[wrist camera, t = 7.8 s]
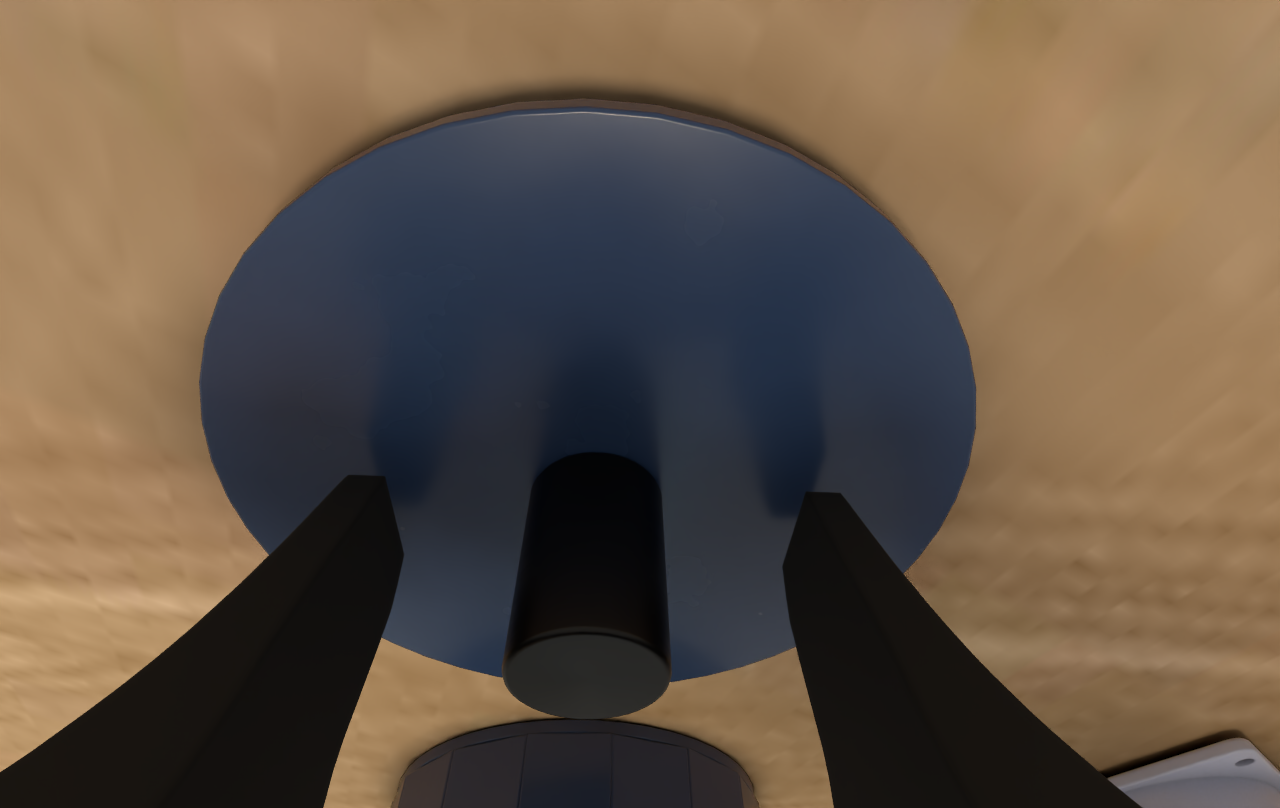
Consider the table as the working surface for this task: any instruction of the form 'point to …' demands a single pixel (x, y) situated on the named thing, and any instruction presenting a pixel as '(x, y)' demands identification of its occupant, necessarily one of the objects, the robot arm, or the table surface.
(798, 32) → the table surface
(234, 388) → the pan lid
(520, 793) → the pan
